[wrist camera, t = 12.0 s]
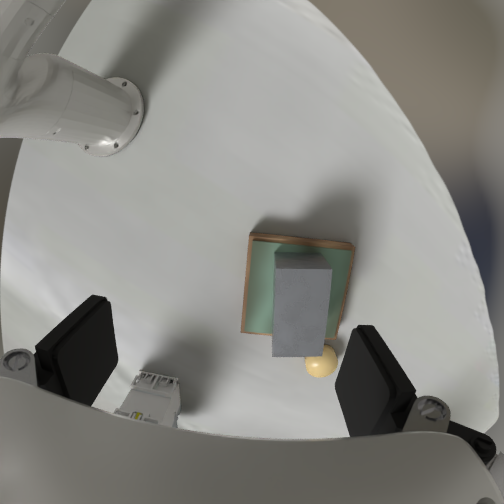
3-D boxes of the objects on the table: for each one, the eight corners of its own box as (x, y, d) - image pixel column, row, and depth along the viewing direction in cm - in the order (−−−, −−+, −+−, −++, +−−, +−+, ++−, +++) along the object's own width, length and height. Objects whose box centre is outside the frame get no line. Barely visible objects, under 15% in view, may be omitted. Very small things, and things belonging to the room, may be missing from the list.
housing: (274, 252, 37) (275, 268, 30) (320, 252, 36) (332, 269, 30) (271, 328, 39) (272, 356, 33) (314, 328, 39) (322, 356, 32)
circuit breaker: (149, 420, 50) (126, 472, 35) (139, 370, 46) (106, 425, 32) (183, 427, 50) (165, 483, 35) (178, 377, 46) (152, 439, 32)
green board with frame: (242, 324, 43) (240, 333, 40) (250, 232, 39) (248, 236, 36) (332, 331, 42) (336, 341, 39) (349, 242, 39) (356, 247, 36)
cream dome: (302, 367, 45) (303, 376, 42) (307, 342, 43) (309, 351, 41) (331, 368, 44) (333, 377, 42) (337, 344, 43) (341, 352, 41)
